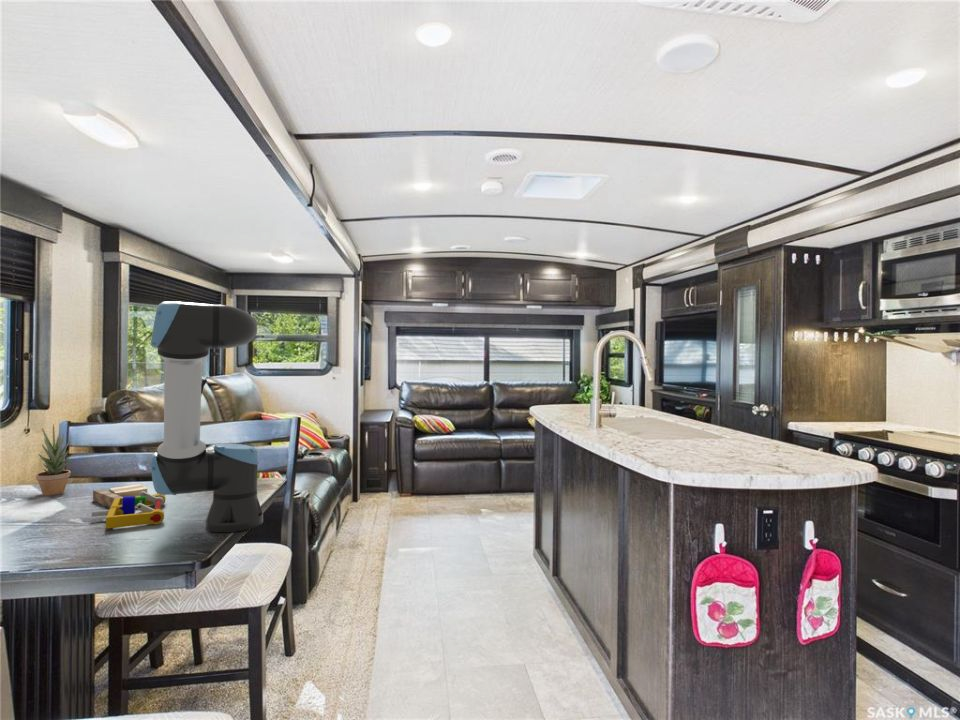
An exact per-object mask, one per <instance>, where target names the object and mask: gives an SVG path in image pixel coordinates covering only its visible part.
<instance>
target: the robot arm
mask: <svg viewBox="0 0 960 720" xmlns="http://www.w3.org/2000/svg"><path fill="white" fill-rule="evenodd" d="M257 332H258V324H257V322H256V320H255V319H254V317H253V316H252V315H251V314H250V313H248V312H246V311H244V310H242V309H240V308H237V307H235V306H232V305H226V304H214V303H213V304H212V303H211V304H210V303H199V302H189V301H188V302H187V301H186V302H185V301H162V302H161V303H159V304H157V307H156V311H155V315H154V320H153V328H152V332H151V339H150V340H151V341H150V347H152V348H155V349H157V355H158V357H160V358H161V359H162V360H163V361H164V369H163V371H164V375H163V376H164V381H163V382H164V384H163V385H164V387H163V391H164V393H163V394H164V395H163V396H164V398H163V442H161V444H159V445H158V447H157V449H156V450H157V451H156V452H153V453H152V454H151V455H150V470H151V478H152V479H151V481H152V485H153V488H154V491H155V493H156V494H157V493H158V494H160V495H165V496H168V495H172V496H177V495H181V494H182V495H183V494H193V493H205V492H213V494H212V497H213V498H212V502H211V505H210V508H209V510H208V512H207V513H208V514H207V516H206V519H205V529H206V531H210V532H212V533H236V532H242V531H243V532H244V531H246V530H251V529H255V528H257V527H259V526H261V525H263V523H264V513H263V511H262V507H261V504H260V501H259V497H258V465H259V458H258V456H259V455H258V450H257V448H255V447H254V446H252V445H248V444H240V443H230V442H229V443H217V444H214V446H213V449H207V445H206V443H205V442H203V441H202V440H201V413H202V412H201V411H202V394H203V390H204V387H205V385H206V384H207V383H208V381H207V380H208V379H204V378H202V376H203V374H202V371H203V370H202V369H203V360H205V359H206V358H207V357H208V356H209V355H210V349H216V350H217V349H220V350H221V349H231V348H236V347H241V346H244V345H247V344H249V343H250V342H252V341H253V340H254V339H255V337H256V336H257Z"/></svg>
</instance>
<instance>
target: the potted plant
mask: <svg viewBox="0 0 960 720" xmlns="http://www.w3.org/2000/svg"><path fill="white" fill-rule="evenodd" d="M41 430H42V433H43V436H44V438H43V440H44V444H45V446H44V444H41V447H42V448H43V450H44V452H45V453H46V455H47V457H48V458H47V457H43V456H42V455H41V454H40V453H39V454H38V456H39V457H40V459H41V460H42V461H44V463H42V465H43V466H44V468H43V470H44V471H42V472H39V473H36V474H35V480H36V481H37V482H38V485H39V487H40V491H41V493H42V495H43V494H44V495H43V496H55V495H54V494H57V495H61V494H63V493H65V491H66V487H67V484H68V479H69V477H70V476H71V473H72V472H71V470H69V469H65V467H66V466H67V465H68V464H69V463H70V462H71V461H72V460H73V458H71V457H70V456H68V457H67V458H66V456H67V455H68V453H69V451H70V450H67V451H66V449H67V447H68V446H69V442H67V443H66V445H65V446H64V448H63V447H62V446H63V443H64V439H65V434H63V435H62V437H61V440H60V438H59V437H57V438H56V435H55V432H56V431H55V424H54V423H53V424H52V442H51V441H50V439H49V437H48V435H47V433H46V431H45V430H44V428H43V427H42V429H41ZM62 448H63V449H62ZM65 458H66V459H65ZM64 459H65V460H64ZM45 468H46V469H45ZM60 493H61V494H60Z"/></svg>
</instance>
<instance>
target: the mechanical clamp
mask: <svg viewBox="0 0 960 720" xmlns="http://www.w3.org/2000/svg"><path fill="white" fill-rule="evenodd" d="M165 503H166V495H160V494H158V493H157V492H156V493H155V494H151V493H148V491H147V492H144V491H142V492H140V496H129V497H123V498H120V499H114V501H113V503H112V506H111V507H110V508H109V509H103V510H94V511H93V510H92V511H91V514H90V515H91V517H102V516H105V530H106V529H114V528H115V529H117V528H123V527H124V528H125V527H135V526H143V525H159V524H162V522H164V519H165V511H163V510H162V509H161V507H162V506H163V505H165ZM150 506H154V508H152V507H150ZM136 509H137V510H138V511H141V512H138V513H136Z"/></svg>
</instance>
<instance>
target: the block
mask: <svg viewBox="0 0 960 720" xmlns="http://www.w3.org/2000/svg"><path fill="white" fill-rule="evenodd" d="M108 489H109V490H108V492H111V493H114V494H116V495H119V496H122V497H129V496H140V492H142V491H144V492H147V493H148V488H147V487H145V486H143V484H134V485H133V484H132V485H131V484H130V485H125V486H119V487H118V486H117V487H110V488H108Z"/></svg>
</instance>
